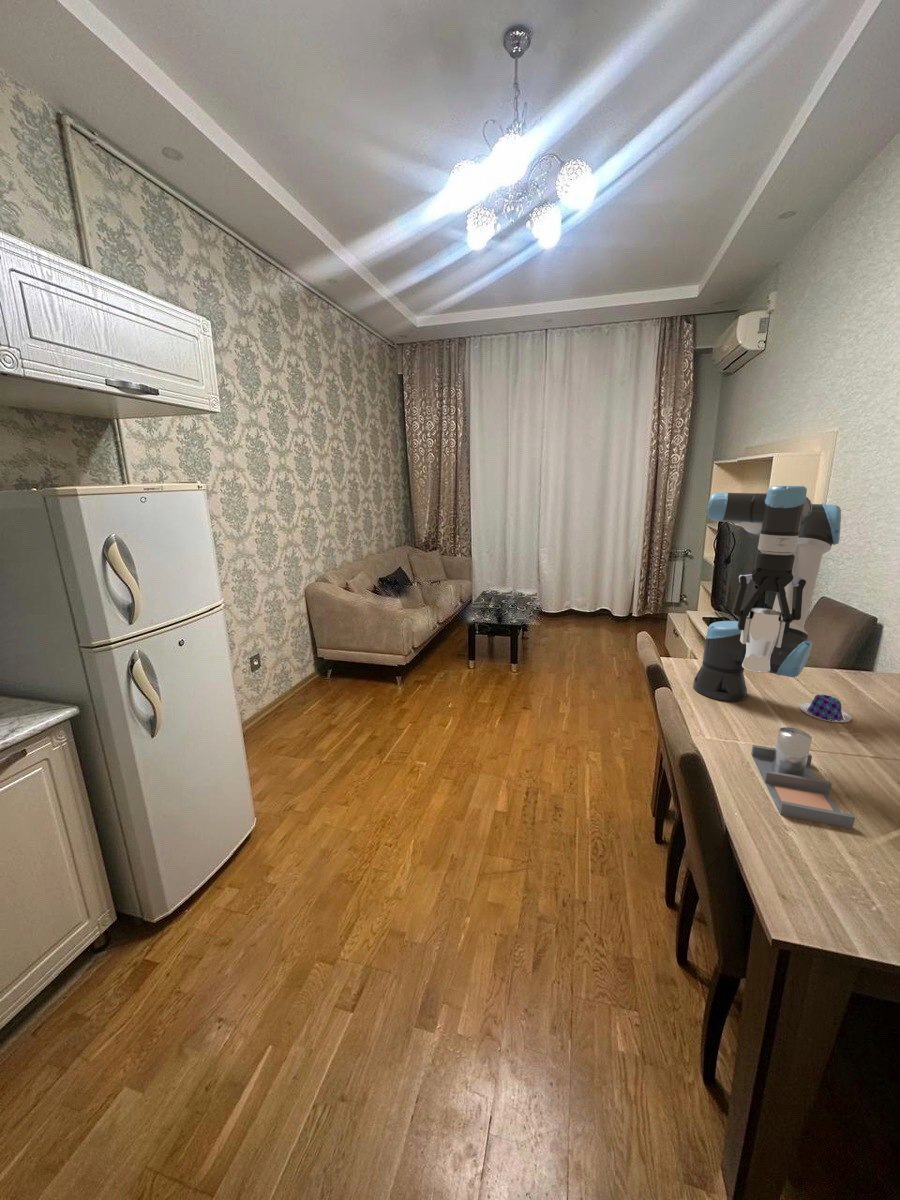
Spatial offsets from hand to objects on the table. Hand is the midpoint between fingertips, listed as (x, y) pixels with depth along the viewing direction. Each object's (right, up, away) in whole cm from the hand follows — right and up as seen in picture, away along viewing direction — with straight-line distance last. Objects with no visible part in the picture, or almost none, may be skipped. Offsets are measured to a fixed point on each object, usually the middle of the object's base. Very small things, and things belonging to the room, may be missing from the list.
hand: (759, 643), depth 116 cm
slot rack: (-1, -31, -13) cm, 34 cm away
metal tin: (+1, -29, -8) cm, 30 cm away
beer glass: (0, -7, +2) cm, 7 cm away
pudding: (+33, -23, +21) cm, 46 cm away
